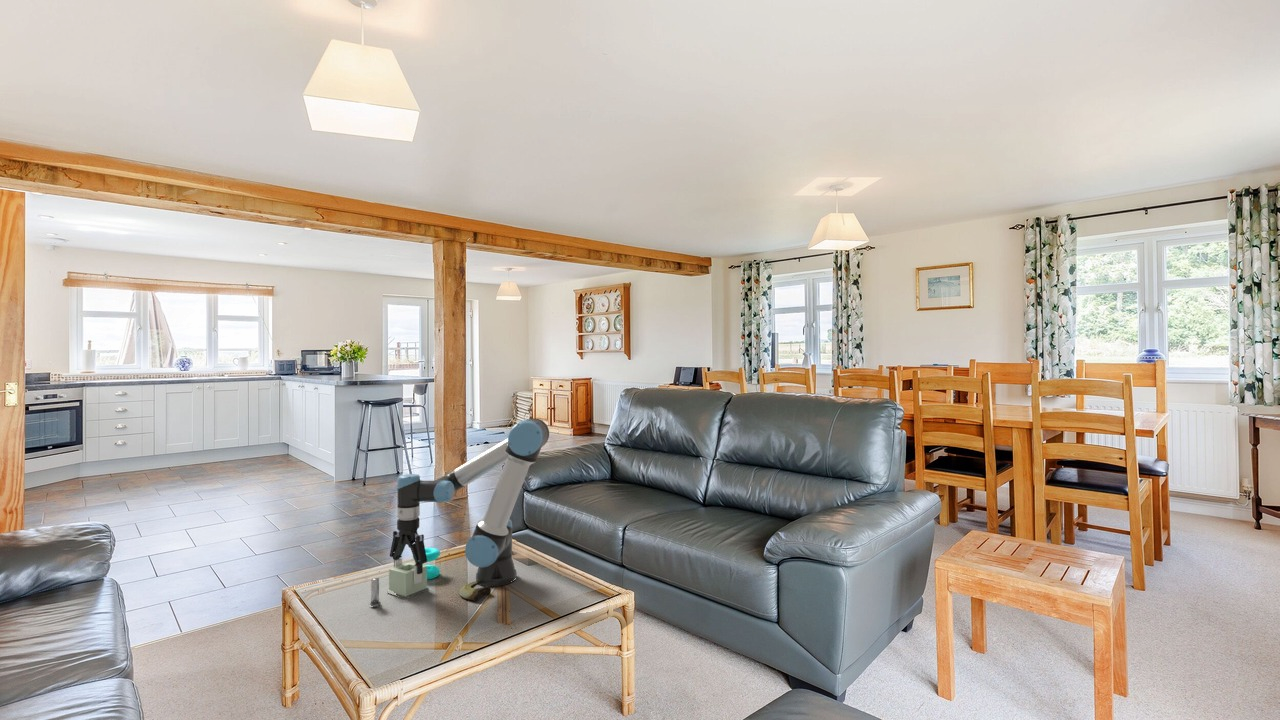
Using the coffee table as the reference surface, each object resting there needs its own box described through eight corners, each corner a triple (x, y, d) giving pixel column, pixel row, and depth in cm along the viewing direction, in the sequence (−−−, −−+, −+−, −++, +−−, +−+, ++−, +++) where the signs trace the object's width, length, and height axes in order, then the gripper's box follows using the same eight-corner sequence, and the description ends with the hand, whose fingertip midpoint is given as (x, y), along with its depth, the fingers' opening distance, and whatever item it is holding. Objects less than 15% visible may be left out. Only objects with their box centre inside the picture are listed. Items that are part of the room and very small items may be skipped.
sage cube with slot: (426, 588, 212) (426, 566, 212) (405, 596, 204) (405, 573, 204) (410, 583, 216) (410, 562, 217) (388, 591, 209) (389, 569, 209)
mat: (428, 589, 212) (428, 588, 212) (405, 599, 203) (405, 597, 203) (410, 584, 217) (410, 583, 217) (386, 593, 208) (386, 591, 208)
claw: (494, 600, 203) (493, 590, 203) (463, 605, 199) (463, 595, 199) (482, 583, 221) (482, 574, 221) (454, 588, 216) (454, 578, 216)
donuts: (443, 551, 225) (415, 556, 219) (442, 577, 224) (415, 583, 219) (436, 545, 233) (410, 549, 228) (436, 570, 233) (410, 575, 227)
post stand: (382, 604, 198) (383, 578, 199) (373, 608, 195) (373, 581, 195) (376, 602, 200) (376, 576, 200) (366, 606, 197) (366, 579, 197)
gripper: (379, 516, 213) (378, 577, 213) (420, 524, 202) (420, 589, 201) (396, 512, 220) (396, 571, 219) (438, 519, 208) (437, 582, 208)
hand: (407, 579), depth 210 cm, fingers open, 10 cm apart
